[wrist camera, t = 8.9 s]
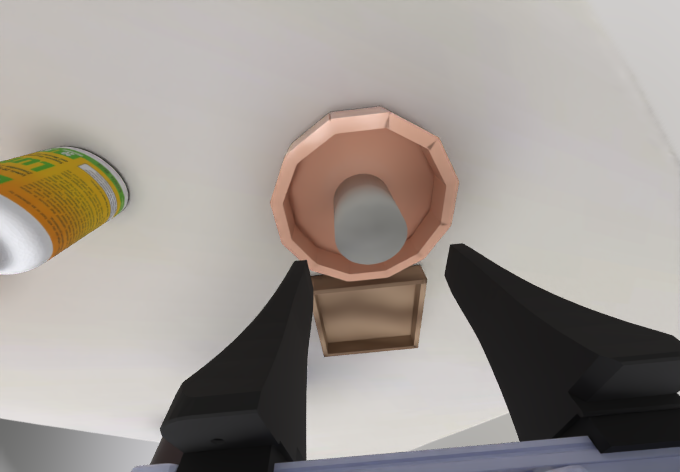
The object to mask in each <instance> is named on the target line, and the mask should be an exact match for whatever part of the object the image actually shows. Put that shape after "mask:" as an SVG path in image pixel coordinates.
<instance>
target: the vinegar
mask: <svg viewBox="0 0 680 472" xmlns="http://www.w3.org/2000/svg"><path fill="white" fill-rule="evenodd" d="M182 455H183V452H182V451H180V450H179V449H178V448H176V447H175V446H173V445H172V444H171V443H169V442H168V441H167V440H166V439H165V438H164V437H162V439H161V441H160V444H159V446H158V448H157V450H156V452H155V455H154V457H153V459H152V461H151V463H150V465H154V464H165V463H171V464H177V465H179V463H180V461H181V458H182Z"/></svg>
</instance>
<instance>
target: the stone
mask: <svg viewBox="0 0 680 472" xmlns="http://www.w3.org/2000/svg"><path fill="white" fill-rule="evenodd" d="M333 203H334V228H335V242H336V246H337V248H338V250H339V252H340V253H341V254H342V255H343V256H344V257H345V258H347V259H348V260H350V261H352V262H355V263H358V264H365V265H370V264H377V263H381V262H384V261H386V260H388V259H390V258H392V257H393V256H394V255H396V254H397V253H398V252H399V251H400V250H401V248H402V247H403V245H404V243H405V241H406V238H407V225H406V222H405V220H404V218H403V216H402V214H401V212H400V210H399V208H398V206H397V205H396V203H395V201H394V199H393V197H392V195H391V193H390V191H389V189H388V188H387V186H386V184H385V183H384V182H383V181H382V180H381V179H380V178H378V177H376V176H374V175H371V174H356V175H353V176H351V177H349V178H347V179H345V180H344V181H343V182H342V183H341V184H340V185H339V186H338V188H337V189H336V192H335V194H334V200H333Z"/></svg>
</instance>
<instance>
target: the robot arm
mask: <svg viewBox="0 0 680 472" xmlns="http://www.w3.org/2000/svg"><path fill="white" fill-rule="evenodd" d="M445 278H446V280H447V283H448V285H449V288H450V290H451V292H452V294H453V296H454V298H455V299H456V301H457V303H458V305H459V306H460V308H461V310H462V312H463V313H464V315H465V317H466V318H467V320H468V322H469V323H470V325H471V327H472V328H473V330H474V332H475V334H476V336H477V338H478V339H479V341H480V343H481V346H482V348H483V350H484V352H485V354H486V357H487V359H488V361H489V363H490V366H491V368H492V370H493V373H494V375H495V377H496V380H497V382H498V384H499V387H500V389H501V392H502V394H503V397H504V400H505V402H506V405H507V407H508V410H509V413H510V415H511V418H512V421H513V424H514V426H515V429H516V432H517V435H518V438H519V441H520V442H511V443H501V444H488V445H477V446H466V447H455V448H443V449H432V450H421V451H409V452H398V453H386V454H375V455H364V456H352V457H341V458H330V459H318V460H307V461H306V388H307V356H308V346H309V338H310V330H311V322H312V314H313V284H312V280H311V276H310V271H309V267H308V262H307V260H300V261H295V262H294V263H293V264H292V266H291V268H290V270H289V271H288V273H287V275H286V276H285V278H284V280H283V281H282V283H281V284H280V286H279V287H278V289H277V290H276V292H275V293H274V295H273V296H272V298H271V299H270V300H269V302H268V303H267V304H266V306H265V307H264V308H263V309H262V311H261V312H260V313H259V314H258V316H257V317H256V318H255V319H254V320H253V321H252V322H251V324H250V325H249V326H248V327H247V328H246V329H245V330H244V331H243V332H242V333H241V334H240V335H239V336H238V337H237V338H236V339H235V340H234V341H233V342H232V343H231V344H230V345H229V346H227V347H226V348H225V349H224V350H223V351H222V352H221V353H220V354H218V355H217V356H216V357H215V358H214V359H212V360H211V361H210V362H209V363H208V364H206V365H205V366H204V367H202V368H201V369H200V370H199V371H197V372H196V373H195V374H193V375H192V376H191V377H189V378H188V379H187V380H185V381H184V382H183V383H182V385H181V386H180V388H179V390H178V392H177V394H176V396H175V398H174V400H173V402H172V404H171V406H170V408H169V411H168V413H167V415H166V417H165V419H164V421H163V423H162V425H161V428H160V431H161V434H162V436H163V437H164V438H165V439H166V440H167V441H168V442H169V443H171V444H172V445H173V446H175V447H176V448H178V449H179V450H180V451H182V452H183V455H182V458H181V461H180V463H179V465H177V464H171V463H165V464H154V465H143V466H136V467H134V468H133V469H132V471H131V472H680V396H679V395H678V394H677V392H678V391H680V341H679V340H678V339H677V338H675V337H674V336H672V335H669V334H666V333H663V332H659V331H656V330H652V329H649V328H646V327H642V326H639V325H636V324H632V323H629V322H626V321H623V320H620V319H617V318H614V317H611V316H608V315H605V314H602V313H599V312H597V311H594V310H591V309H589V308H586V307H583V306H581V305H578V304H576V303H573V302H571V301H568V300H566V299H563V298H561V297H559V296H557V295H554V294H552V293H550V292H548V291H546V290H544V289H541V288H539V287H537V286H535V285H533V284H531V283H529V282H527V281H525V280H524V279H522V278H520V277H518V276H516V275H514V274H512V273H511V272H509V271H507V270H506V269H504V268H502V267H500V266H499V265H497V264H495V263H494V262H492V261H491V260H489V259H487V258H486V257H484V256H483V255H481V254H479V253H478V252H476V251H475V250H473V249H471V248H470V247H468V246H466V245H465V244H463V243H462V244H452V245H450V248H449V254H448V259H447V264H446V270H445Z"/></svg>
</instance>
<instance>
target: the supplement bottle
mask: <svg viewBox="0 0 680 472" xmlns="http://www.w3.org/2000/svg"><path fill="white" fill-rule="evenodd" d="M127 202H128V191H127V188H126V185H125V183H124V182H123V180H122V178H121V177H120V176H119V174H118V173H117V172H116V171H115V170H114V169H113V168H112V167H111V166H110V165H109V164H108V163H106V162H105V161H104V160H102V159H101V158H99V157H97V156H96V155H94V154H92V153H90V152H87V151H85V150H82V149H78V148H73V147H56V148H51V149H47V150H43V151H39V152H35V153H32V154H28V155H24V156H20V157H16V158H13V159H9V160H5V161H1V162H0V274H17V273H23V272H26V271H29V270H32V269H34V268H36V267H38V266H40V265H41V264H43V263H45V262H46V261H48V260H50V259H51V258H53V257H54V256H56V255H57V254H59V253H60V252H62V251H63V250H65V249H66V248H68V247H69V246H71V245H72V244H74V243H75V242H77V241H78V240H80V239H81V238H83V237H84V236H86V235H87V234H89V233H90V232H92V231H93V230H95V229H96V228H98V227H99V226H101V225H102V224H104V223H105V222H107V221H109V220H110V219H112V218H113V217H115V216H116V215H117V214H119V213H120V212H121V211H122V210H123V209H124V208H125V207H126V205H127Z"/></svg>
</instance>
